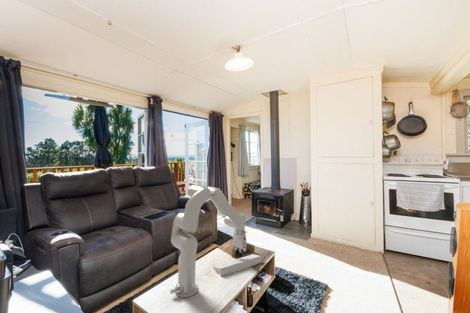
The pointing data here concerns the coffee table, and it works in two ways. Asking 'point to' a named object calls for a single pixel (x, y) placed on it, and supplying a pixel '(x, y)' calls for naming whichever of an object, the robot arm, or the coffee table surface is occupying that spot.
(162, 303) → the coffee table surface
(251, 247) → the wooden corner bracket
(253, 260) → the decorative molding
